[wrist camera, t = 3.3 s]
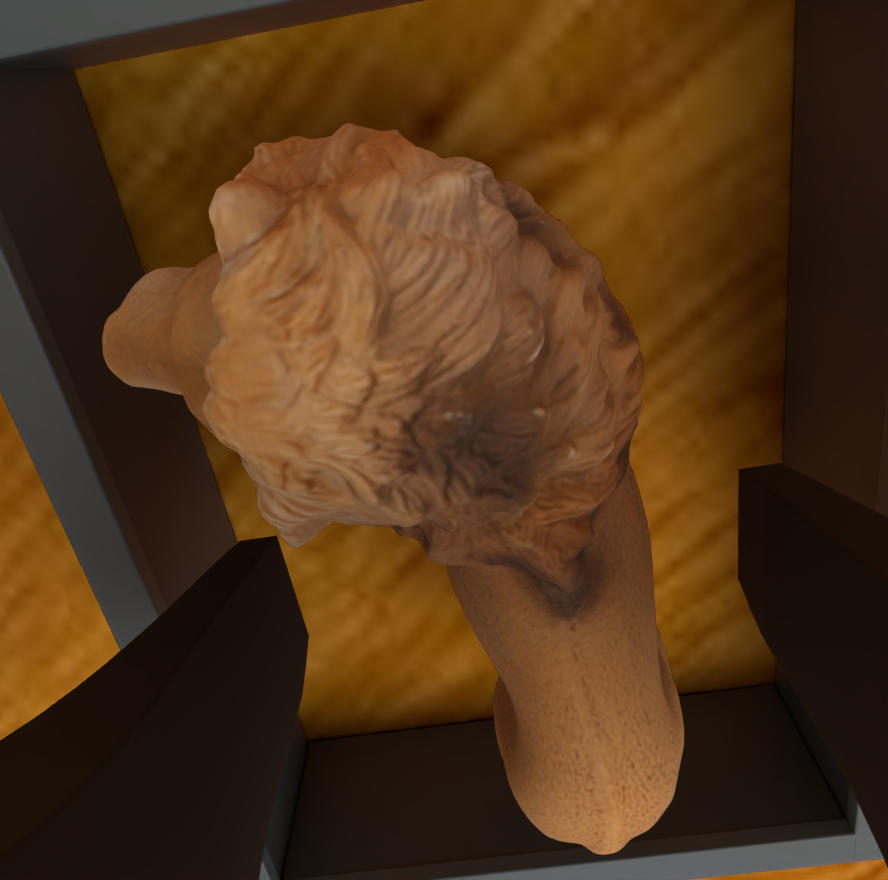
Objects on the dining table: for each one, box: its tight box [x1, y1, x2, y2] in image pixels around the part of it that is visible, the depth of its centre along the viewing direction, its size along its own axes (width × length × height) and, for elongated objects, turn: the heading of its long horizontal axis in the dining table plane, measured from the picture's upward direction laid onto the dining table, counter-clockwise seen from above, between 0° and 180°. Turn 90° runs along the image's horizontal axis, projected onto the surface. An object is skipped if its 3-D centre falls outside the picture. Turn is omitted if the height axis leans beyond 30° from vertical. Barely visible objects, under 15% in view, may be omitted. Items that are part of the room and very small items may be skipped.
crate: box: [0, 0, 888, 880], centre depth 14 cm, size 14×18×4 cm
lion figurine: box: [102, 123, 684, 855], centre depth 12 cm, size 15×5×9 cm, turn 27°
